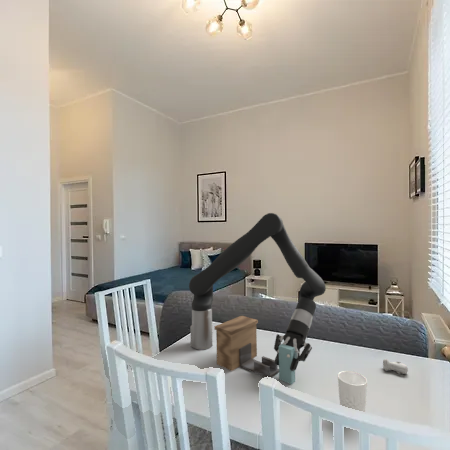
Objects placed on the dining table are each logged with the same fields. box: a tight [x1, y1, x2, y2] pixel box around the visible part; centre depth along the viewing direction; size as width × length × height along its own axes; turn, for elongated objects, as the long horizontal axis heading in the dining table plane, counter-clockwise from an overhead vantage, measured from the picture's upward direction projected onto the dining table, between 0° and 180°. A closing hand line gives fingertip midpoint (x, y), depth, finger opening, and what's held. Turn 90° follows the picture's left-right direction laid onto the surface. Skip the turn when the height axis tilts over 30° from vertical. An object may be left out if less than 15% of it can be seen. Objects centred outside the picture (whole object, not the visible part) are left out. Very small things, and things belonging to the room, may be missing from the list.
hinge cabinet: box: [214, 315, 279, 378], centre depth 112 cm, size 22×17×15 cm
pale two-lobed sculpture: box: [382, 358, 409, 375], centre depth 106 cm, size 4×8×5 cm
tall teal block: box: [278, 343, 296, 385], centre depth 101 cm, size 5×3×12 cm
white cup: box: [337, 370, 368, 413], centre depth 84 cm, size 8×8×10 cm
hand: (284, 367), depth 100 cm, fingers open, 5 cm apart
